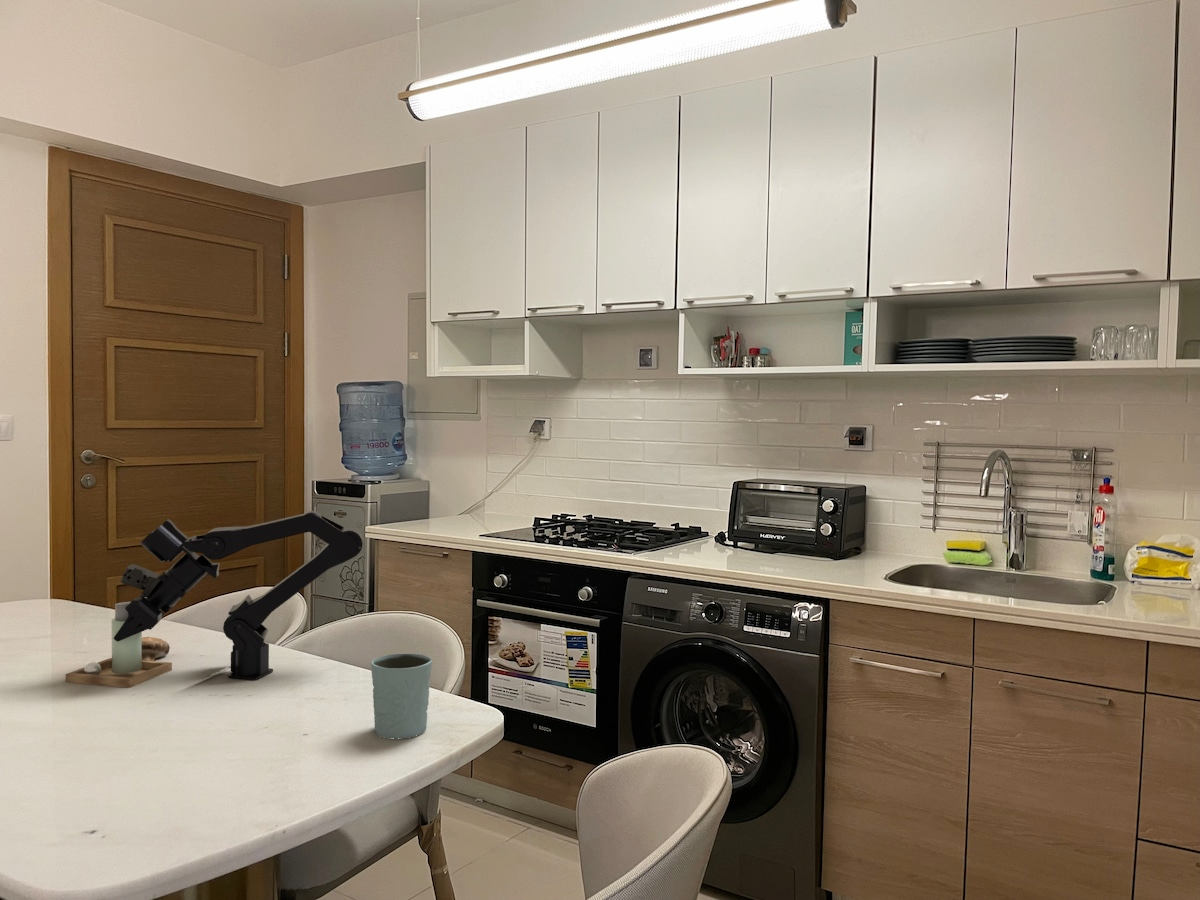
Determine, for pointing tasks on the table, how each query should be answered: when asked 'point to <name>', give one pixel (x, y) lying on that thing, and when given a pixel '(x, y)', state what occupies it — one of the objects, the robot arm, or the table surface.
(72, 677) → the tray
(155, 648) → the mushroom
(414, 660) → the grey-green cup
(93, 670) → the ball
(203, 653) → the table surface
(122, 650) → the disc
